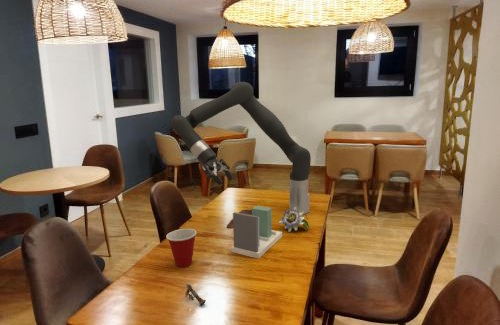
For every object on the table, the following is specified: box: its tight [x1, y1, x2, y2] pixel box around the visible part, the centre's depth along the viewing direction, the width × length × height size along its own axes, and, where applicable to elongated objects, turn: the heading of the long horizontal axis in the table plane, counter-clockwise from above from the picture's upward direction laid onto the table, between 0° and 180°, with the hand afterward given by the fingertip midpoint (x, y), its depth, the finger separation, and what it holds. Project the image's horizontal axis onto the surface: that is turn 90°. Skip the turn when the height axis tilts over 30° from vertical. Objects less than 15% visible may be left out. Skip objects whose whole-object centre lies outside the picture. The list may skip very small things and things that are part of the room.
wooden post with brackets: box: [185, 283, 207, 307], centre depth 109 cm, size 2×8×4 cm, turn 49°
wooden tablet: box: [226, 209, 252, 230], centre depth 174 cm, size 26×2×10 cm
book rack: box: [230, 211, 283, 259], centre depth 145 cm, size 22×12×16 cm, turn 152°
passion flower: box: [278, 207, 310, 233], centre depth 161 cm, size 11×11×12 cm
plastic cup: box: [165, 228, 197, 268], centre depth 131 cm, size 11×11×12 cm
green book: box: [251, 205, 273, 238], centre depth 149 cm, size 4×7×12 cm, turn 62°
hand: (226, 181), depth 153 cm, fingers open, 8 cm apart
